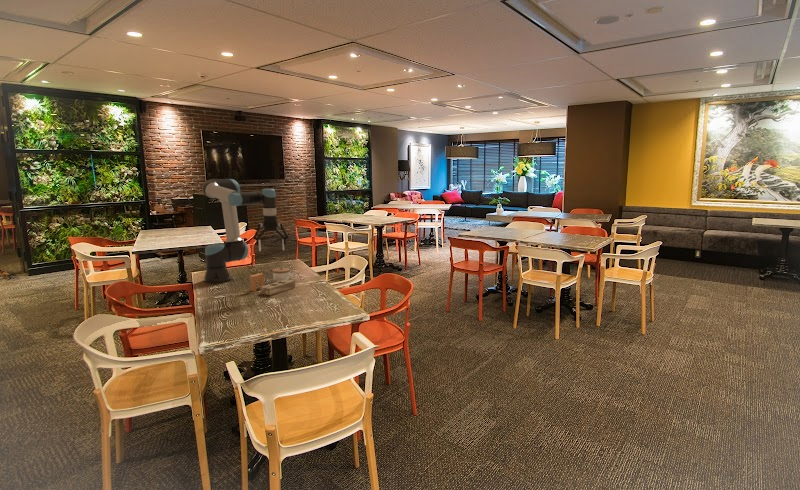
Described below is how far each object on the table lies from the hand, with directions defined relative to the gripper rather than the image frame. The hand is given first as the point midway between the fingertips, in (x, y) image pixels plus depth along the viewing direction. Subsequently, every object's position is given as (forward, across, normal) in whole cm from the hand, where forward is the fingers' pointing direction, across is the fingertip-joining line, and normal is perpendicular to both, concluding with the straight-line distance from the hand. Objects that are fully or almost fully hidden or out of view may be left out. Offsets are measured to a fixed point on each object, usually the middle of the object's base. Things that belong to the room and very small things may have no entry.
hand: (271, 250), depth 254 cm
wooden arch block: (+23, -9, -4) cm, 25 cm away
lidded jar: (+23, +4, +13) cm, 27 cm away
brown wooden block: (+23, +3, -8) cm, 24 cm away
